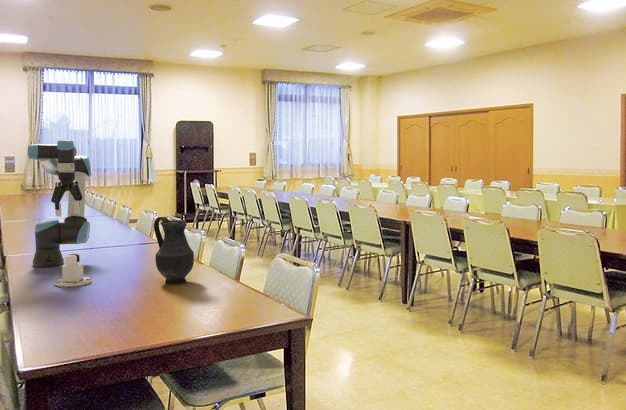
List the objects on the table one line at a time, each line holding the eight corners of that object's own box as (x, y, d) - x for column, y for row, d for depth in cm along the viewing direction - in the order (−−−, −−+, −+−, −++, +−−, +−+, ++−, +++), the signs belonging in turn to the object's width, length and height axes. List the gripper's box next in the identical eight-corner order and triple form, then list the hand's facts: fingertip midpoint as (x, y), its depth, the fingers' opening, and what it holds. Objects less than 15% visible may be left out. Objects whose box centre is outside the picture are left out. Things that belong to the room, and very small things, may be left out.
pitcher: (175, 288, 256) (173, 220, 253) (142, 282, 267) (140, 217, 264) (202, 281, 271) (201, 217, 268) (170, 275, 282) (168, 214, 279)
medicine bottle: (68, 278, 268) (67, 253, 267) (83, 278, 269) (82, 253, 268) (62, 282, 261) (61, 255, 260) (78, 282, 262) (77, 255, 261)
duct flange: (46, 286, 259) (45, 282, 259) (69, 278, 275) (69, 275, 275) (76, 288, 255) (76, 284, 255) (99, 280, 271) (99, 277, 271)
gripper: (55, 172, 271) (57, 217, 273) (89, 171, 295) (90, 212, 297) (41, 172, 273) (43, 217, 275) (76, 170, 297) (77, 212, 299)
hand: (67, 215), depth 286 cm, fingers open, 13 cm apart
